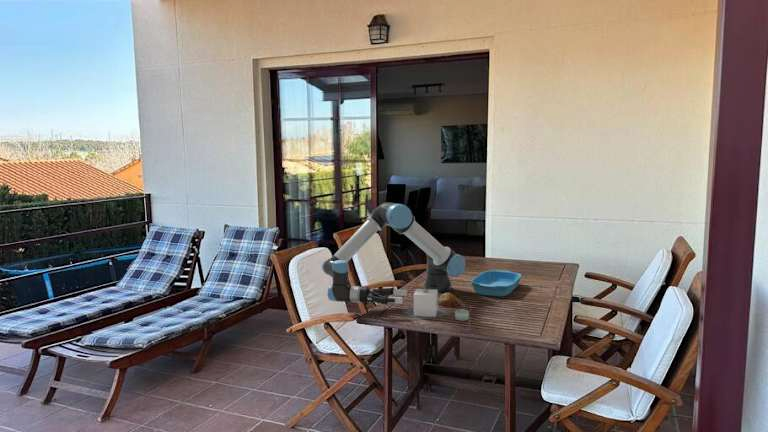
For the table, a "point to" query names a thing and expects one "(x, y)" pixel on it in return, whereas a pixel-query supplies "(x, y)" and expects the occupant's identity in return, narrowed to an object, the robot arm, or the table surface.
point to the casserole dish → (496, 282)
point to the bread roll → (448, 300)
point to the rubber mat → (411, 314)
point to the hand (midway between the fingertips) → (404, 296)
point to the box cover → (425, 302)
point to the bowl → (461, 314)
